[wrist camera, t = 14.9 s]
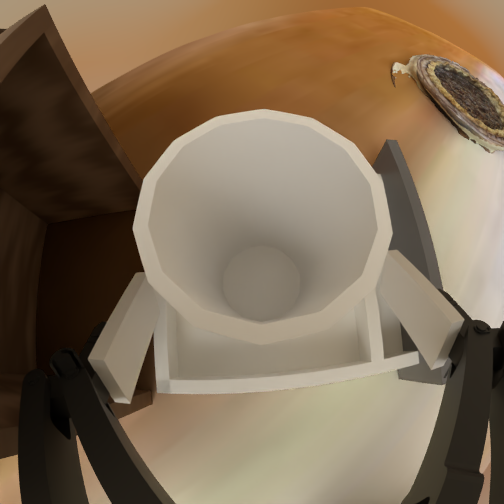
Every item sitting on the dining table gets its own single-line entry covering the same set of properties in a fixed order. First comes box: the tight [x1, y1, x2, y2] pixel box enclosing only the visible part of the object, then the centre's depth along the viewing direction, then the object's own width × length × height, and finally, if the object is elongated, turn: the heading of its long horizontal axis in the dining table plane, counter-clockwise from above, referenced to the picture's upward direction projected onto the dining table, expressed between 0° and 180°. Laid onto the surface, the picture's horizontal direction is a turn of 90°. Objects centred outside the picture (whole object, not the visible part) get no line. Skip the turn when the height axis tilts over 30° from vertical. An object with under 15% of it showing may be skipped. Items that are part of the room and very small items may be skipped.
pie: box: [391, 55, 504, 153], centre depth 30 cm, size 28×27×5 cm
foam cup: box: [133, 109, 393, 345], centre depth 16 cm, size 10×9×13 cm
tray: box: [153, 140, 452, 394], centre depth 20 cm, size 20×19×7 cm
